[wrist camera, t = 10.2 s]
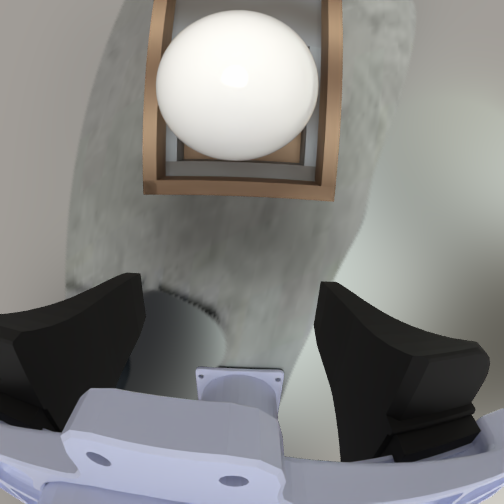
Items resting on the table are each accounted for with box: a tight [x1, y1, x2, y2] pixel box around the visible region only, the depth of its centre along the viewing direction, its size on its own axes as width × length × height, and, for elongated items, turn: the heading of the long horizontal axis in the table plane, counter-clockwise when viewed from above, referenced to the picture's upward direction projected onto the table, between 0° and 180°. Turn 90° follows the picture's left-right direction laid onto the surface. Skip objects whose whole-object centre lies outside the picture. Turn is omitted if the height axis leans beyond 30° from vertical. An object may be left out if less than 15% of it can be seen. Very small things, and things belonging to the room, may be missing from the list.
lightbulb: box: [156, 10, 319, 161], centre depth 13 cm, size 6×6×11 cm
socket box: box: [143, 0, 343, 202], centre depth 16 cm, size 14×11×4 cm
